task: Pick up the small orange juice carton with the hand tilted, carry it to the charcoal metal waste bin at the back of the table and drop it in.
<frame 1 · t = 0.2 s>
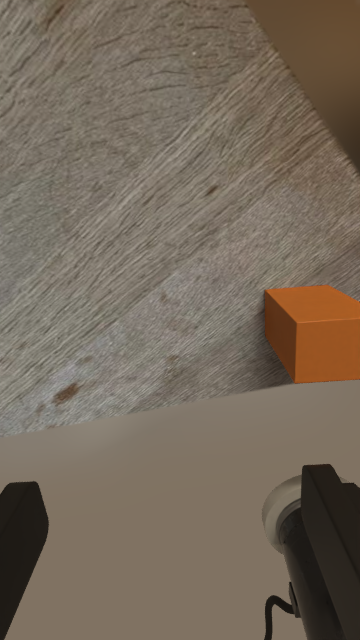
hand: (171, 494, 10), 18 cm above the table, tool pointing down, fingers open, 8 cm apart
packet: (295, 310, 27), on the table
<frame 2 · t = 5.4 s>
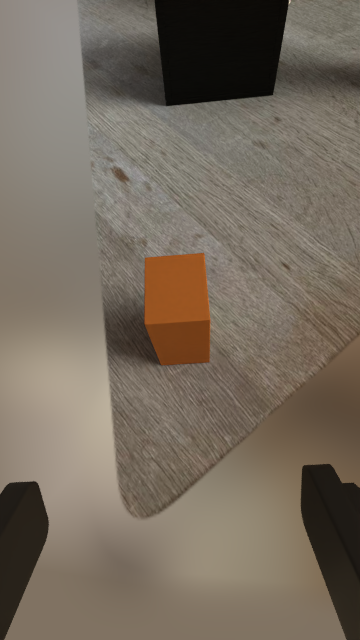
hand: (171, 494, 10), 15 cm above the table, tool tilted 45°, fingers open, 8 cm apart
bin: (214, 70, 45), on the table
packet: (183, 335, 28), on the table
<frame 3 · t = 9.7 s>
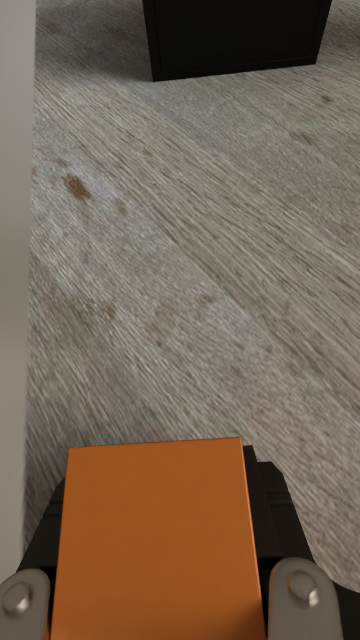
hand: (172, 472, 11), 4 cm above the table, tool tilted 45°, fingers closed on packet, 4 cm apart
bin: (224, 32, 31), on the table
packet: (182, 527, 14), on the table, touching gripper
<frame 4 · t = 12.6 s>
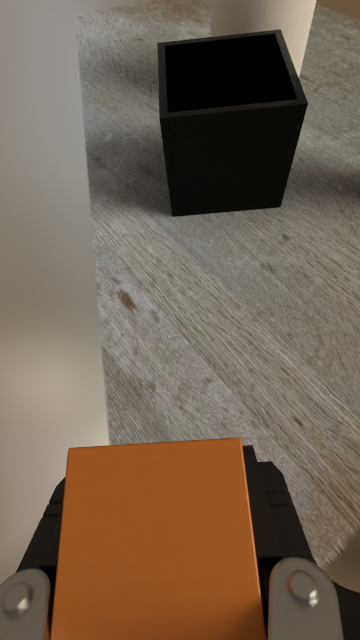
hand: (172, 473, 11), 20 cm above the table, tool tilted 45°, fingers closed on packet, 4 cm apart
canister: (252, 89, 53), on the table
bin: (220, 174, 44), on the table
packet: (182, 527, 14), point 15 cm above the table, touching gripper
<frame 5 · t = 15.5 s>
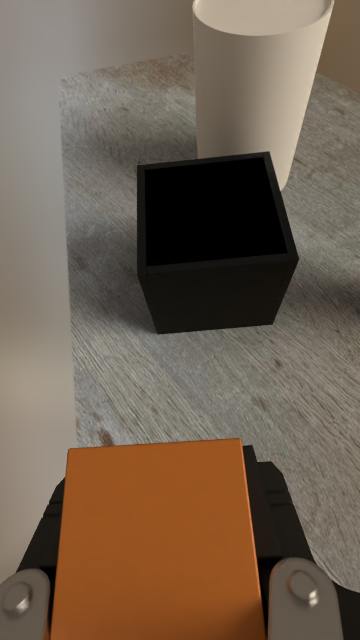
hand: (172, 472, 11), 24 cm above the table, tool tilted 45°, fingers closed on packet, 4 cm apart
canister: (242, 173, 50), on the table
bin: (208, 281, 42), on the table
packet: (182, 527, 14), point 20 cm above the table, touching gripper
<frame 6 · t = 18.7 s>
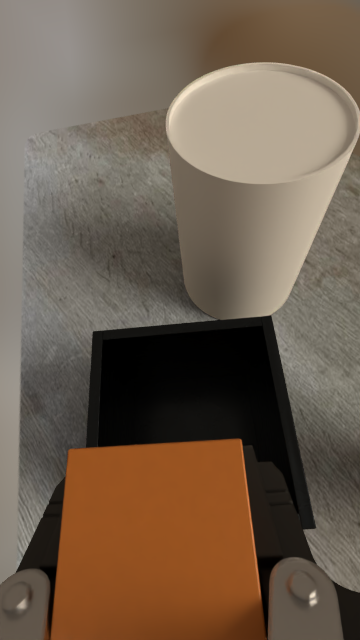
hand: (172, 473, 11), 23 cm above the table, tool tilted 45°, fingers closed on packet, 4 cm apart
canister: (237, 275, 41), on the table
bin: (194, 437, 33), on the table
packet: (183, 528, 14), point 19 cm above the table, touching gripper
when the fingers open (19 cm above the table, at t = 21.3 s): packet drops 14 cm, resting on bin.
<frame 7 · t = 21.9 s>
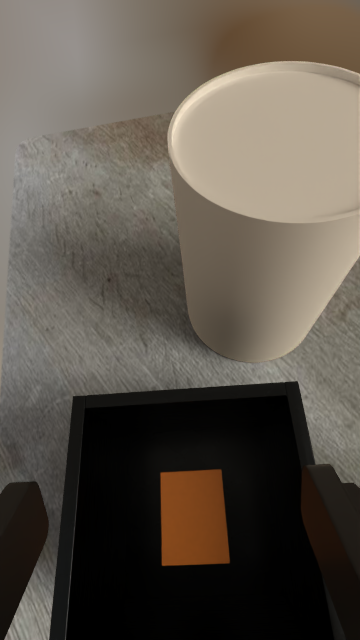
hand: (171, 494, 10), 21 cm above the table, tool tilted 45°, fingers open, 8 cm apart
canister: (248, 304, 36), on the table
bin: (197, 504, 28), on the table
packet: (197, 506, 27), point 1 cm above the table, touching bin
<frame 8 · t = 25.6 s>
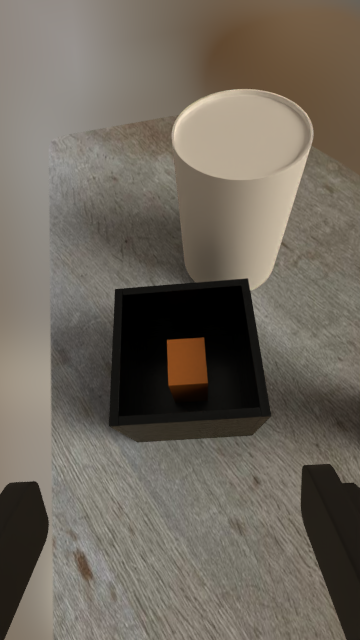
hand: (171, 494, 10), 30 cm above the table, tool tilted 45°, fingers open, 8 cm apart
canister: (228, 257, 50), on the table
bin: (190, 382, 42), on the table
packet: (190, 381, 41), point 1 cm above the table, touching bin
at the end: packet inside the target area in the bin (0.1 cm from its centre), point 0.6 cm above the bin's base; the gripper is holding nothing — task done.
